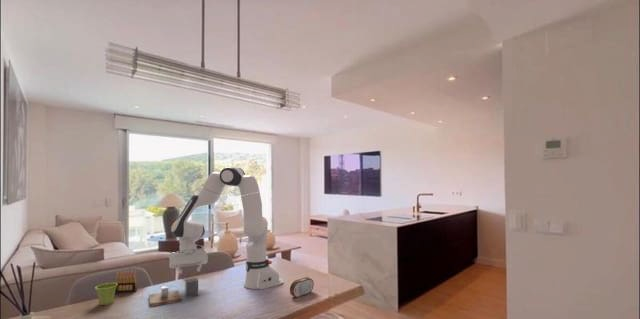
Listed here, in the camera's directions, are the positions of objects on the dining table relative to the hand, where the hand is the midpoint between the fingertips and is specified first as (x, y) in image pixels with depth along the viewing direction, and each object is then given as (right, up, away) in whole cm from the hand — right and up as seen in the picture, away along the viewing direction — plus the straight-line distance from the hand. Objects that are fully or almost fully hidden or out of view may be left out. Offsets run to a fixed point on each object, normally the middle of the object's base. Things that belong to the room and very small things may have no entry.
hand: (189, 272), depth 181 cm
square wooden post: (-8, -8, -13) cm, 17 cm away
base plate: (-8, -9, -13) cm, 18 cm away
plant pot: (-35, -10, -17) cm, 40 cm away
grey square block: (+3, -10, -7) cm, 12 cm away
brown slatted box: (-35, -11, -1) cm, 36 cm away
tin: (+63, -9, -9) cm, 64 cm away
